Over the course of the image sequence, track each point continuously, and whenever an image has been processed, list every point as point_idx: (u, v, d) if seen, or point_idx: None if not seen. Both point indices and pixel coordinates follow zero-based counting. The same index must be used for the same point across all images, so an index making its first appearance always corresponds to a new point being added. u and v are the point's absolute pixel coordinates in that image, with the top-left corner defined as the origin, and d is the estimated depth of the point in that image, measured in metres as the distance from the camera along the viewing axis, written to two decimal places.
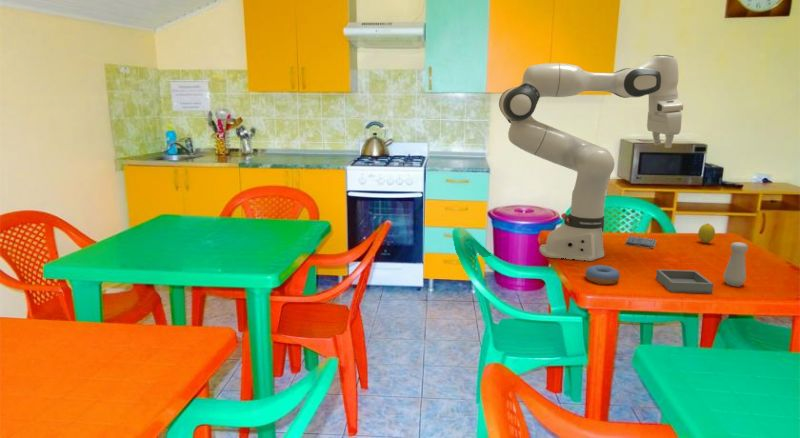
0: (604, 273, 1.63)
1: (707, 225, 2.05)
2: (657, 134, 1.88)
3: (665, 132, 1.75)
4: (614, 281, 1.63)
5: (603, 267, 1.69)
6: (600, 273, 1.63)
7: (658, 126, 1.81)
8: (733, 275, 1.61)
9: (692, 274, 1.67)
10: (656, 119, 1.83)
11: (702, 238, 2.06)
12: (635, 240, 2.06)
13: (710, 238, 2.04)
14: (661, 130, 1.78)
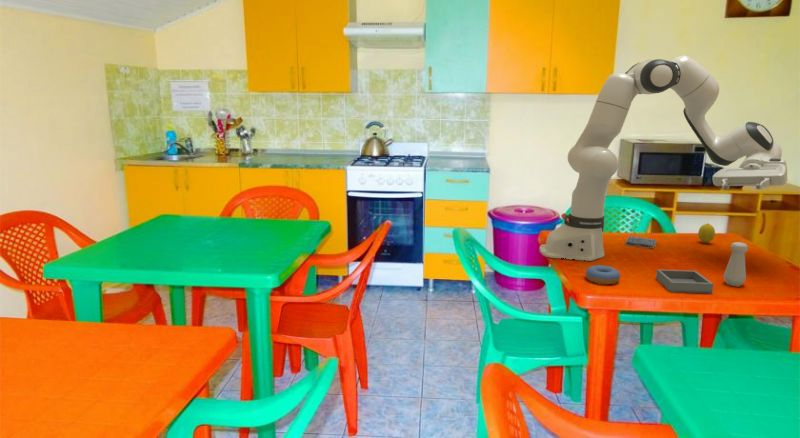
0: (604, 273, 1.63)
1: (707, 225, 2.05)
2: None
3: (773, 174, 1.66)
4: (614, 281, 1.63)
5: (603, 267, 1.69)
6: (600, 273, 1.63)
7: (752, 172, 1.71)
8: (734, 275, 1.61)
9: (692, 274, 1.67)
10: (744, 171, 1.74)
11: (702, 238, 2.06)
12: (635, 240, 2.06)
13: (710, 238, 2.04)
14: (760, 174, 1.68)
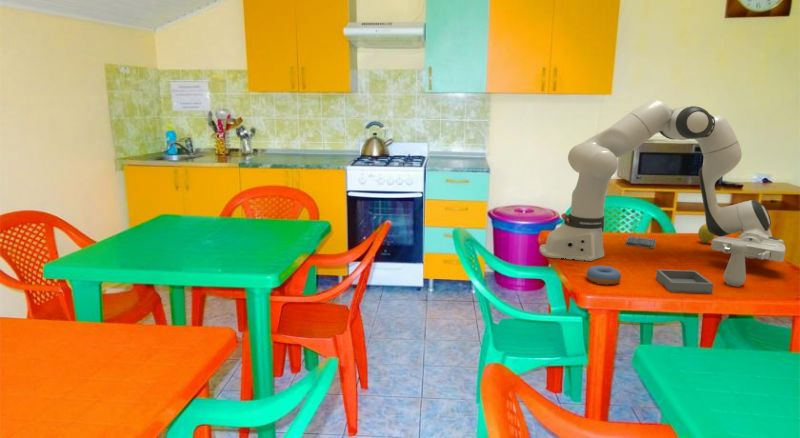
0: (605, 273, 1.63)
1: None
2: None
3: (774, 249, 1.69)
4: (615, 281, 1.63)
5: (604, 267, 1.68)
6: (601, 273, 1.63)
7: (752, 244, 1.74)
8: (734, 275, 1.61)
9: (692, 274, 1.67)
10: (744, 242, 1.77)
11: (702, 238, 2.06)
12: (635, 240, 2.06)
13: (710, 238, 2.04)
14: (761, 246, 1.71)
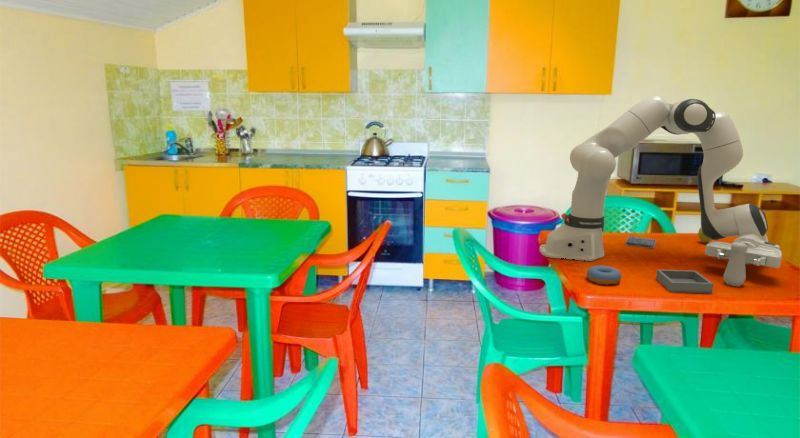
0: (606, 273, 1.63)
1: None
2: None
3: (770, 254, 1.63)
4: (616, 281, 1.62)
5: (604, 267, 1.68)
6: (602, 273, 1.63)
7: (748, 249, 1.67)
8: (734, 275, 1.61)
9: (692, 274, 1.67)
10: None
11: (702, 238, 2.06)
12: (635, 240, 2.06)
13: None
14: (757, 252, 1.65)
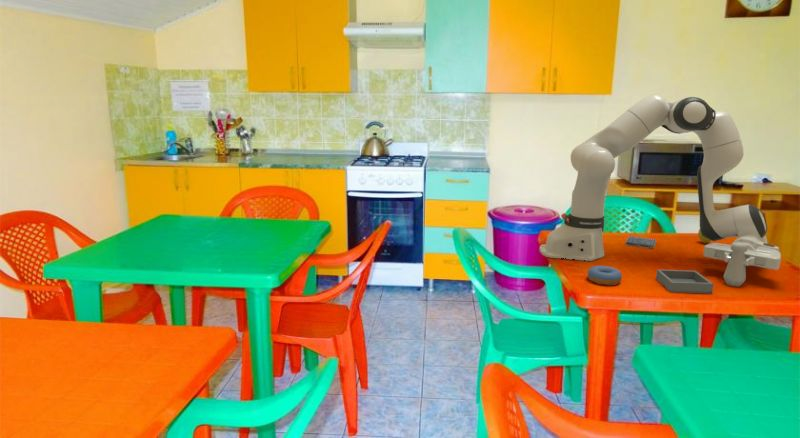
0: (606, 274, 1.62)
1: None
2: None
3: (769, 256, 1.61)
4: (616, 282, 1.62)
5: (605, 268, 1.68)
6: (602, 274, 1.63)
7: (746, 251, 1.65)
8: (734, 275, 1.61)
9: (692, 274, 1.67)
10: None
11: (702, 238, 2.06)
12: (635, 240, 2.06)
13: None
14: (755, 253, 1.63)
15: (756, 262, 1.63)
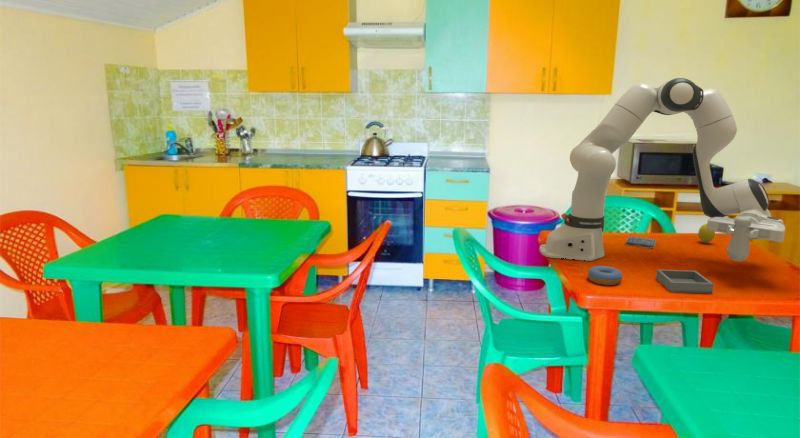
0: (607, 274, 1.62)
1: None
2: None
3: (773, 228, 1.58)
4: (617, 282, 1.62)
5: (605, 268, 1.68)
6: (603, 274, 1.62)
7: None
8: (737, 249, 1.59)
9: (692, 274, 1.67)
10: None
11: (702, 238, 2.06)
12: (635, 240, 2.06)
13: (710, 238, 2.04)
14: (759, 226, 1.61)
15: (760, 235, 1.61)
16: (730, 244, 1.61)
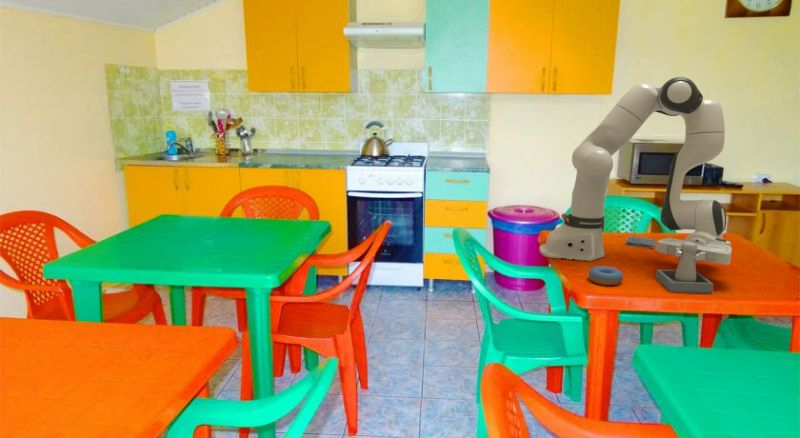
0: (607, 274, 1.62)
1: None
2: None
3: (719, 251, 1.58)
4: (618, 282, 1.62)
5: (606, 268, 1.68)
6: (603, 274, 1.62)
7: (698, 246, 1.63)
8: (685, 275, 1.59)
9: None
10: None
11: None
12: (635, 240, 2.06)
13: None
14: (706, 248, 1.61)
15: (707, 257, 1.61)
16: (678, 269, 1.61)
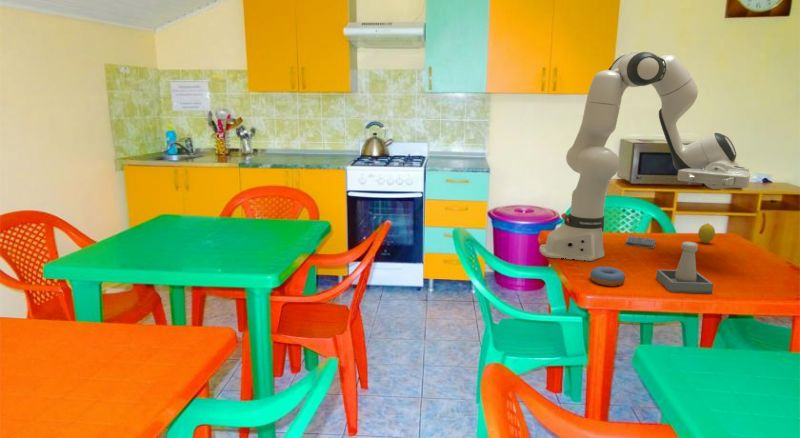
0: (609, 275, 1.62)
1: (707, 225, 2.05)
2: None
3: (738, 175, 1.67)
4: (619, 283, 1.62)
5: (608, 268, 1.67)
6: (605, 275, 1.62)
7: (717, 172, 1.72)
8: (685, 275, 1.59)
9: None
10: (709, 171, 1.76)
11: (702, 238, 2.06)
12: (635, 240, 2.06)
13: (710, 238, 2.04)
14: (726, 173, 1.70)
15: None
16: (678, 269, 1.61)
